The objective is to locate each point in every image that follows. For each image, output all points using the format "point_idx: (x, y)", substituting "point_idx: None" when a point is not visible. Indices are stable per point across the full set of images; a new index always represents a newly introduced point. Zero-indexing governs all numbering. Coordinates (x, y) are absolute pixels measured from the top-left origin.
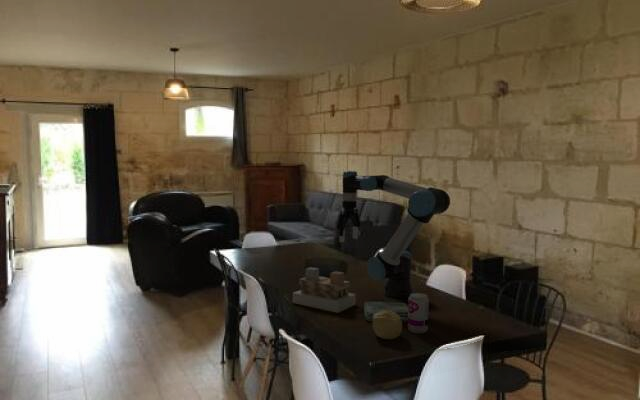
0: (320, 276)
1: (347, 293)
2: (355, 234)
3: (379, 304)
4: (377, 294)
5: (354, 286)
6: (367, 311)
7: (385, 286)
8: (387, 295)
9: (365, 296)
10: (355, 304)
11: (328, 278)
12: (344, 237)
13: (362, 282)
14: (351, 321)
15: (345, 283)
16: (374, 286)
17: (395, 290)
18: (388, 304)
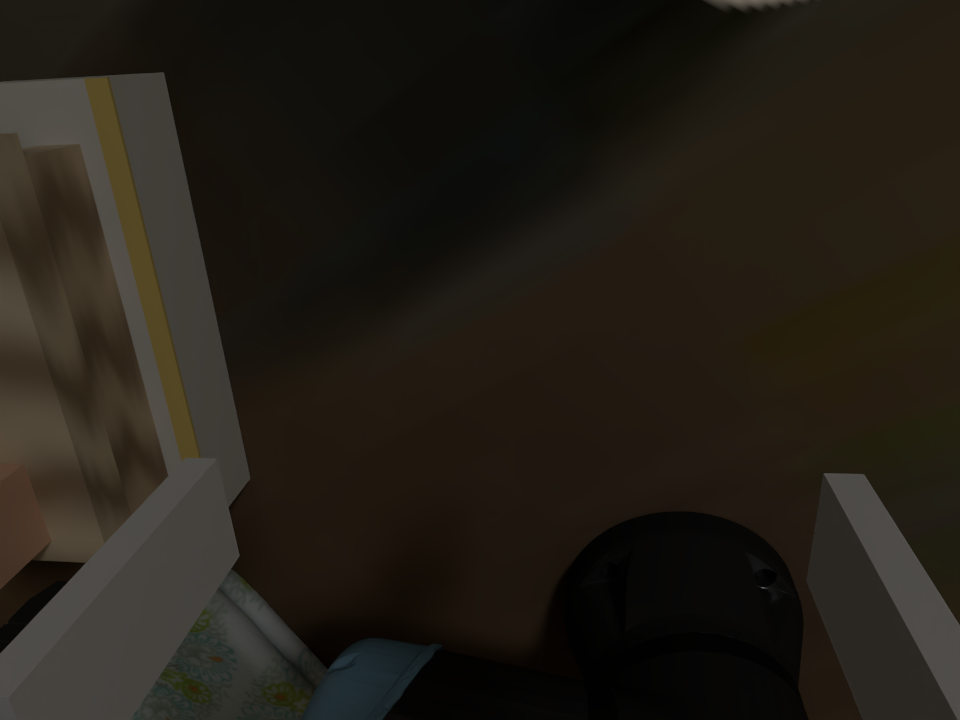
0: (10, 257)
1: (159, 485)
2: (847, 627)
3: (227, 670)
4: (577, 490)
5: (700, 216)
6: None
7: (626, 571)
8: (573, 568)
9: (467, 444)
10: (248, 478)
11: (27, 367)
12: (179, 633)
13: (909, 197)
14: (6, 588)
15: (43, 559)
16: (811, 367)
17: (574, 655)
18: (252, 715)
